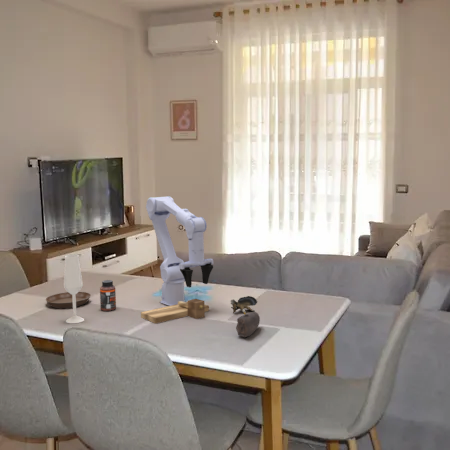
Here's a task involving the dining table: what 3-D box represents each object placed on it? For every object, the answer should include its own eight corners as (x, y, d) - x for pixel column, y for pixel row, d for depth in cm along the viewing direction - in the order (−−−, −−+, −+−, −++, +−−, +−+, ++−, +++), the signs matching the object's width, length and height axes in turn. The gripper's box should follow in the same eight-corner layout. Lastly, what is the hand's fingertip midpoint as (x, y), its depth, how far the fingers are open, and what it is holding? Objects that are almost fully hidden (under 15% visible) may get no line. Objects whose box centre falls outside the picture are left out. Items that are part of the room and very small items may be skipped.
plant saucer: (36, 308, 223) (36, 300, 222) (62, 297, 239) (62, 290, 239) (75, 311, 217) (75, 303, 217) (99, 299, 234) (98, 292, 234)
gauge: (175, 312, 214) (175, 296, 213) (183, 310, 216) (183, 294, 216) (198, 319, 204) (197, 303, 203) (206, 317, 206) (206, 301, 205)
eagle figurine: (239, 314, 205) (260, 307, 209) (231, 296, 208) (252, 289, 211) (233, 320, 212) (254, 313, 215) (226, 303, 214) (247, 296, 218)
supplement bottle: (112, 311, 215) (111, 283, 214) (98, 311, 216) (96, 282, 215) (118, 307, 221) (117, 279, 220) (104, 307, 222) (103, 279, 221)
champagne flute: (65, 324, 201) (62, 258, 198) (65, 318, 207) (62, 254, 204) (85, 322, 203) (81, 256, 199) (84, 317, 209) (81, 253, 206)
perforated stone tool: (251, 326, 195) (251, 306, 195) (265, 328, 193) (265, 308, 192) (232, 338, 182) (232, 318, 181) (246, 341, 180) (246, 320, 179)
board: (141, 317, 207) (140, 312, 207) (193, 305, 222) (193, 300, 222) (155, 323, 200) (155, 318, 199) (209, 310, 215) (209, 305, 214)
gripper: (186, 253, 203) (187, 290, 204) (218, 248, 212) (218, 283, 213) (175, 251, 208) (176, 286, 210) (206, 246, 217) (207, 280, 219)
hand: (197, 285), depth 212 cm, fingers open, 7 cm apart
